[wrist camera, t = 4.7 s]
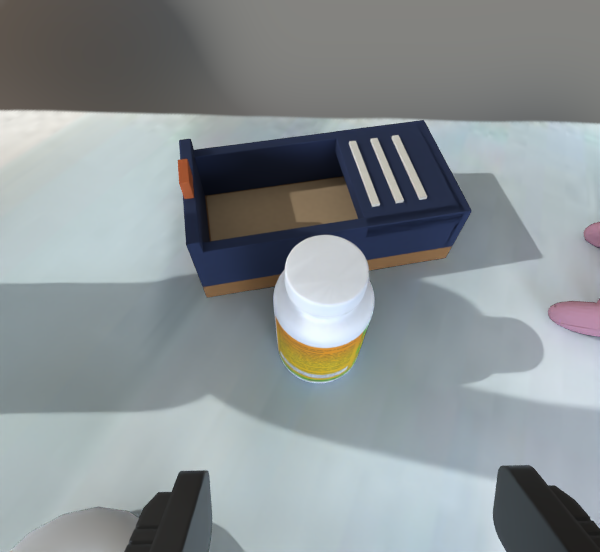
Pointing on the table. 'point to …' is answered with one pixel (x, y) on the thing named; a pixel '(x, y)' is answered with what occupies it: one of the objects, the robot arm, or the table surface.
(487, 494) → the table surface
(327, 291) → the supplement bottle
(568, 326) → the video game controller
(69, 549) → the donut
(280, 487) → the table surface
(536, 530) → the robot arm
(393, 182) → the navy storage tray
